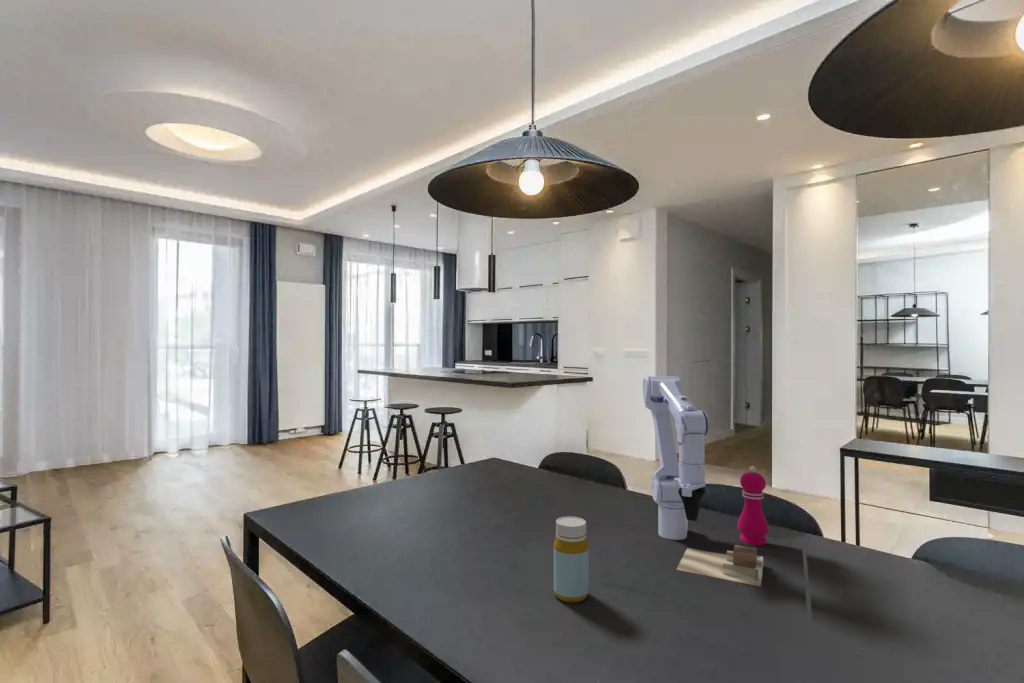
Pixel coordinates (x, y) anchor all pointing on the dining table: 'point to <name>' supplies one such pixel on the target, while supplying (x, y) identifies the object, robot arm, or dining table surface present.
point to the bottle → (571, 560)
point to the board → (720, 566)
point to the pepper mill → (753, 509)
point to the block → (745, 556)
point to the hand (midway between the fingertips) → (691, 519)
